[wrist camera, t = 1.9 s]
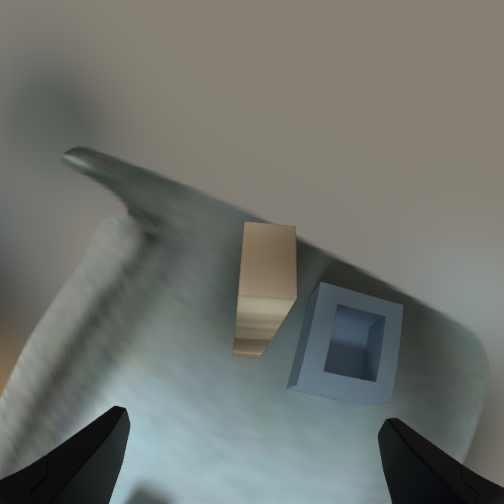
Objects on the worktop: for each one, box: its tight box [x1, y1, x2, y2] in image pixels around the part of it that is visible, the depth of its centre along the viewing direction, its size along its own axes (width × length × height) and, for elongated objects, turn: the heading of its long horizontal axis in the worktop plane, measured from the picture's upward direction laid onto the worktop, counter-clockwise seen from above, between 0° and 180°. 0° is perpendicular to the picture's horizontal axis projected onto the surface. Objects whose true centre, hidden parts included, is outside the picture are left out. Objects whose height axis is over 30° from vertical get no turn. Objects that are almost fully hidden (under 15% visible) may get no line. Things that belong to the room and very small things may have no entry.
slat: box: [233, 222, 297, 358], centre depth 17 cm, size 3×2×13 cm, turn 177°
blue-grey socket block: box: [287, 282, 403, 405], centre depth 21 cm, size 8×7×4 cm
